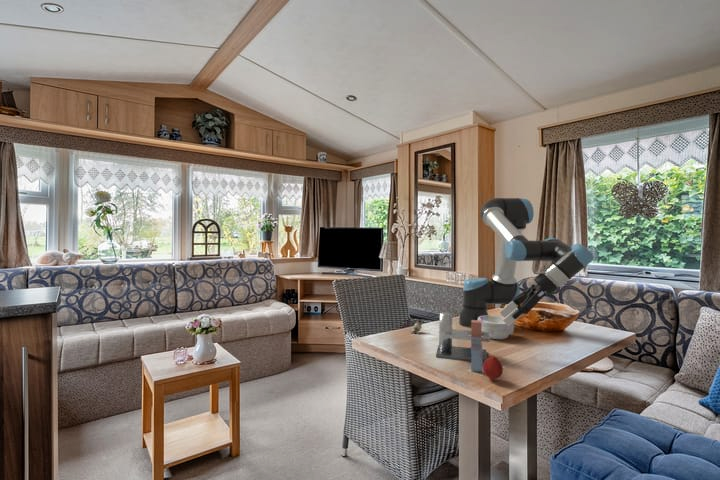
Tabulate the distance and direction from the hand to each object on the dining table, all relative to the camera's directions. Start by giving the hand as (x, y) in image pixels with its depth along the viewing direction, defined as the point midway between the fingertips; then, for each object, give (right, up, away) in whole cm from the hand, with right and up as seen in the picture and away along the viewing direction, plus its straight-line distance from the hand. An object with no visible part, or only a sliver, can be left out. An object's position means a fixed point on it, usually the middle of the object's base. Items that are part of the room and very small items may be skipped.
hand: (503, 319), depth 128 cm
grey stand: (-15, -14, 0) cm, 21 cm away
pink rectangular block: (-9, -14, +3) cm, 17 cm away
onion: (-11, -15, -19) cm, 27 cm away
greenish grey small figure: (-26, -14, +34) cm, 45 cm away
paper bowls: (+8, -15, +29) cm, 34 cm away
